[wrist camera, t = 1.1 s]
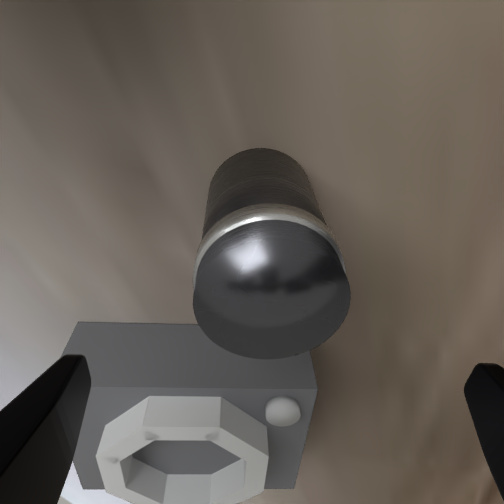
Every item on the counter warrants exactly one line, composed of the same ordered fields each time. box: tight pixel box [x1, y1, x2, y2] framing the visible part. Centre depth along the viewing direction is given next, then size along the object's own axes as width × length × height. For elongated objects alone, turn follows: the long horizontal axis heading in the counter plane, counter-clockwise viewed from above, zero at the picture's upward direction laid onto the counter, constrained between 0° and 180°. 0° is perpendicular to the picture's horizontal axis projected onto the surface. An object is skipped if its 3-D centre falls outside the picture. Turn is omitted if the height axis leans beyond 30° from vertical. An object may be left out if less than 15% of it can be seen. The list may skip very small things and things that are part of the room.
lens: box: [193, 148, 350, 360], centre depth 14 cm, size 5×5×7 cm
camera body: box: [61, 322, 318, 504], centre depth 21 cm, size 12×9×6 cm
